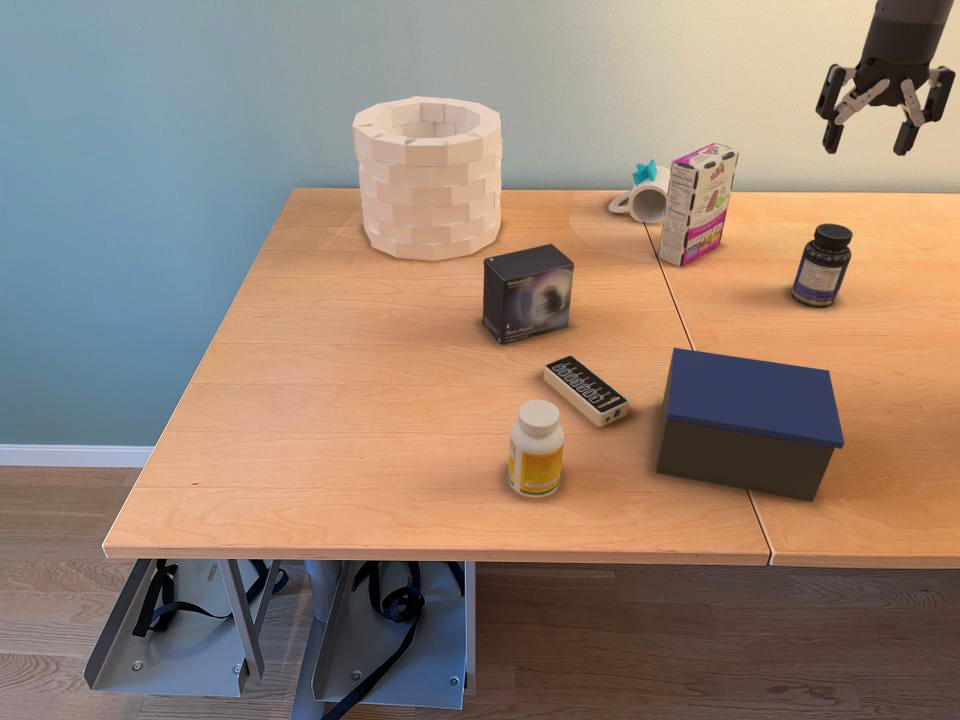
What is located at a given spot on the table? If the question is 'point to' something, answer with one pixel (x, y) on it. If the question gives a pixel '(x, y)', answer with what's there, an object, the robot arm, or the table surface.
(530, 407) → the supplement bottle
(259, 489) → the table surface
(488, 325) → the small box
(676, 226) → the candy bar box
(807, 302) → the pill bottle
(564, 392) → the multiport hub
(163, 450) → the table surface
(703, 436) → the storage box
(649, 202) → the mug
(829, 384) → the storage lid
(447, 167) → the basket
